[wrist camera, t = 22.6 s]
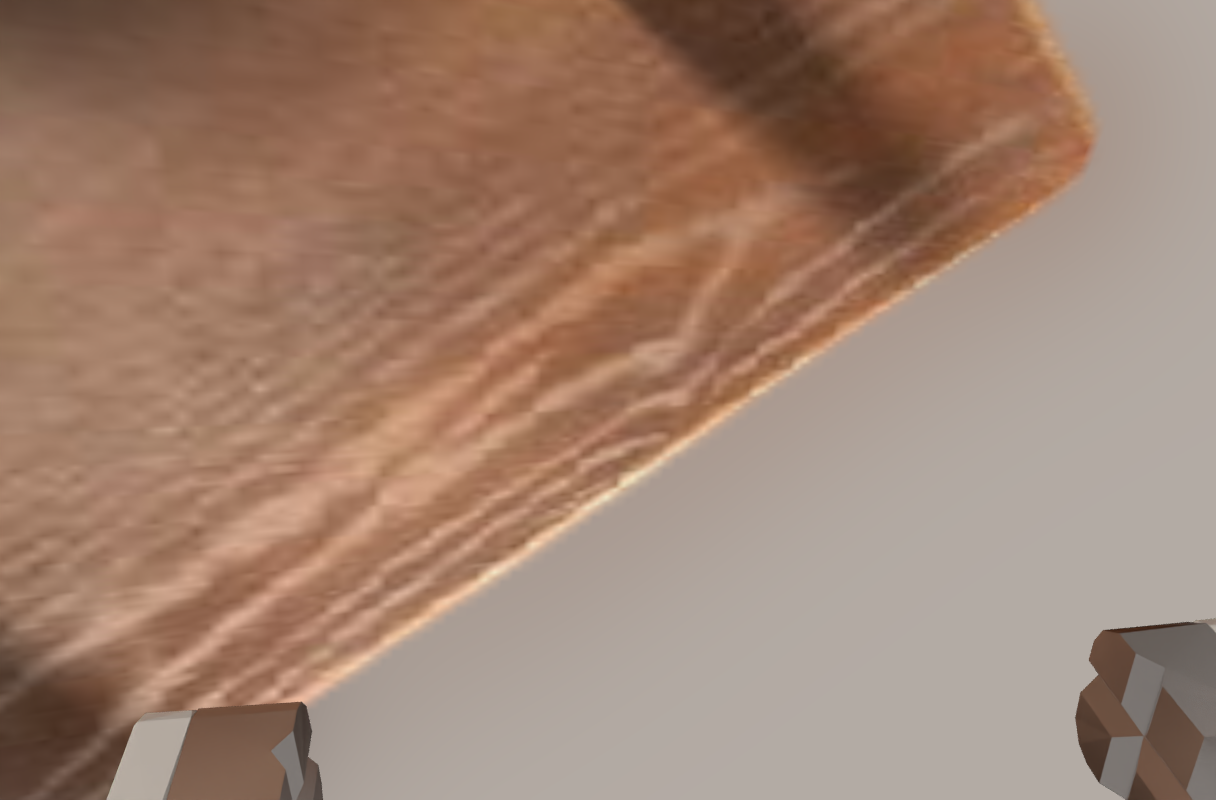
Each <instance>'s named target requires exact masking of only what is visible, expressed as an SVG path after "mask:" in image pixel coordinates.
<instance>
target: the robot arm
mask: <svg viewBox="0 0 1216 800" xmlns="http://www.w3.org/2000/svg"><path fill="white" fill-rule="evenodd" d="M1089 661H1090V662H1091V664H1092V666H1093V667H1094V668H1095V670H1096V672H1097V673H1098V676H1097V677H1096V678H1095V679H1094V680H1093V681H1092V682H1091V683H1090V684H1089V685H1088V686H1087V687H1086V688H1085V689H1084V690H1083V691H1082V692H1081V693H1080V697H1079V702H1078V707H1077V712H1076V717H1075V719H1076V726H1077V733H1078V741H1079V745H1080V747H1081V750H1082V753H1083V755H1084V758H1085V760H1086V763H1087V765H1088V766H1089V768H1090V769H1091V771H1092V772H1093V774H1094V775H1095V777H1096V779H1097V780H1098V782H1099V783H1100V784H1102V785H1103V786H1105V787H1106V788H1108V789H1110V790H1111V791H1113V792H1115V793H1116V794H1118V795H1120V796H1122V797H1123V798H1124V799H1125V800H1216V618H1214V619H1205V620H1196V621H1194V622H1181V623H1171V624H1161V625H1150V626H1140V627H1130V628H1120V629H1110V630H1103V631H1102V632H1101V633H1100V634H1099V636H1098V637H1097V638H1096V639H1095V641H1094V643H1093V646H1092V650H1091V654H1090V657H1089ZM311 735H312V729H311V724H310V720H309V715H308V711H307V706H306V705H305V704H303V703H302V702H292V703H277V704H261V705H246V706H231V707H216V708H201V709H198V710H189V711H172V712H156V713H145V714H144V715H143V716H142V717H141V718H140V719H139V721H138V722H137V723H136V724H135V725H134V727H133V730H132V733H131V735H130V738H129V741H128V743H127V746H126V749H125V751H124V754H123V757H122V759H121V762H120V765H119V767H118V770H117V773H116V775H115V778H114V781H113V784H112V786H111V789H110V792H109V794H108V797H107V800H323V794H322V783H321V777H320V772H319V766H318V764H317V763H315V762H314V761H313V760H311V759H310V758H309V757H308V753H309V748H310V741H311Z"/></svg>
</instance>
